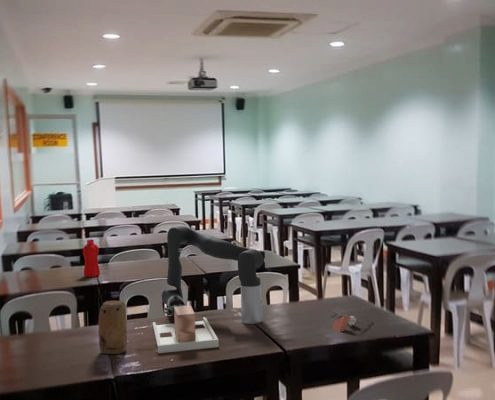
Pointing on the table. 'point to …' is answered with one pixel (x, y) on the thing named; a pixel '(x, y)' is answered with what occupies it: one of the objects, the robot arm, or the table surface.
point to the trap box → (170, 344)
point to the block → (112, 327)
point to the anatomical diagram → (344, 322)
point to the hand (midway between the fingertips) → (180, 314)
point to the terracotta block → (184, 324)
